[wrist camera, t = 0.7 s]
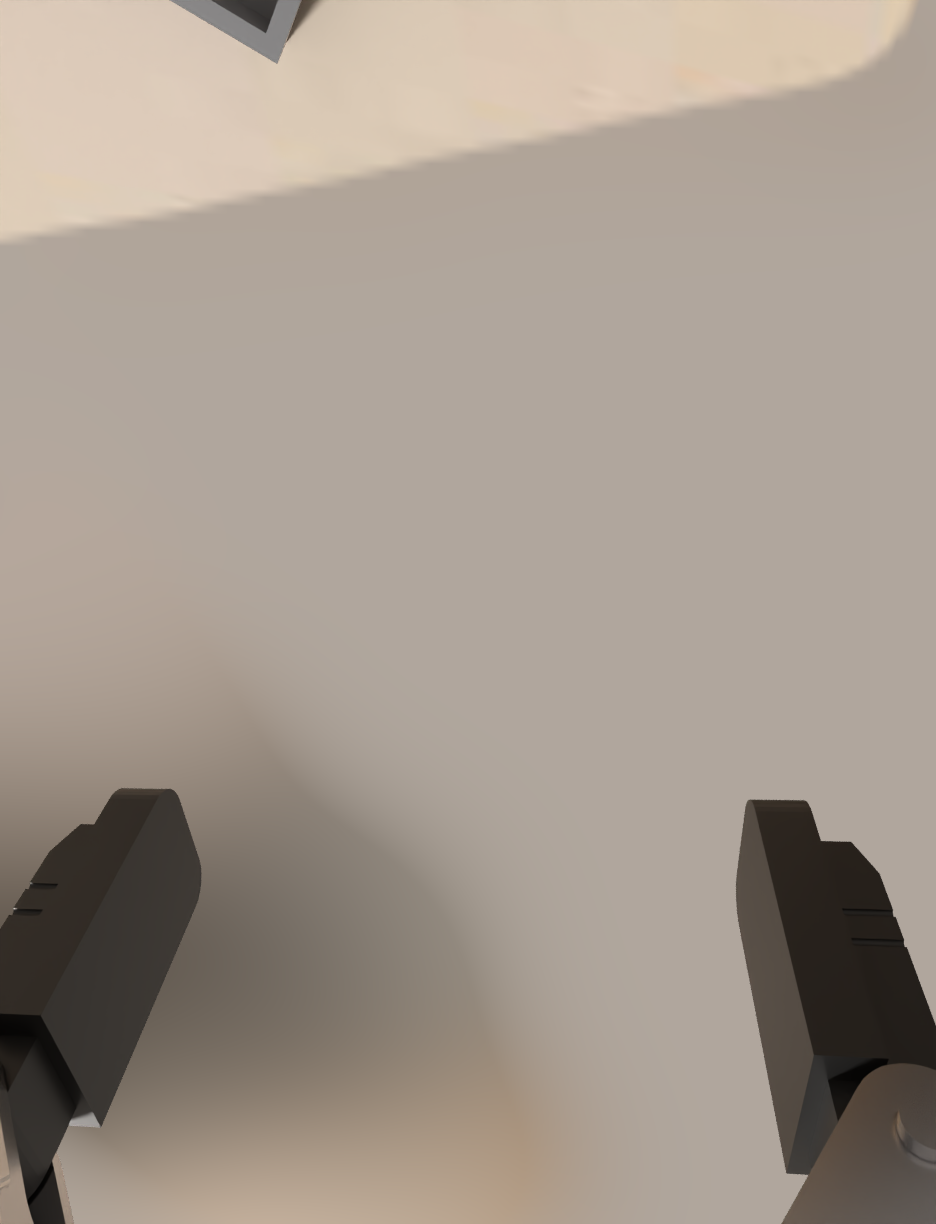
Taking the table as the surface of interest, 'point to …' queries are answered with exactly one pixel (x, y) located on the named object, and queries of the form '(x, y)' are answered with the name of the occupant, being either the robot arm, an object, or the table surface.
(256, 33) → the grey tray
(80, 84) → the table surface
